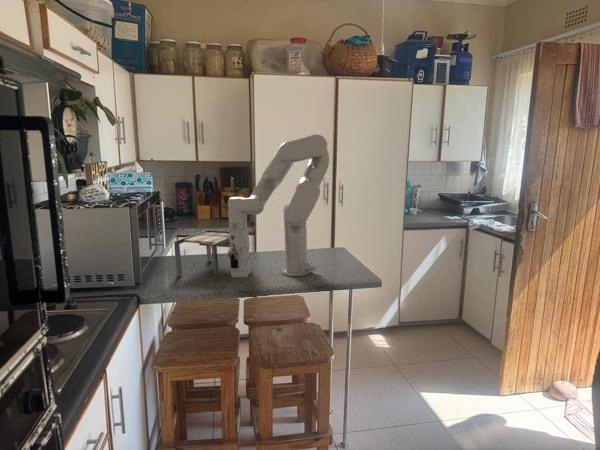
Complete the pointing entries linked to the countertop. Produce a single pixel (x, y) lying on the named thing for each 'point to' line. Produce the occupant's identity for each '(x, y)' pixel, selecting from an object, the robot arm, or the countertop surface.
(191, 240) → the trapdoor
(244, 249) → the supplement box
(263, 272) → the countertop surface
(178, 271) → the frame
